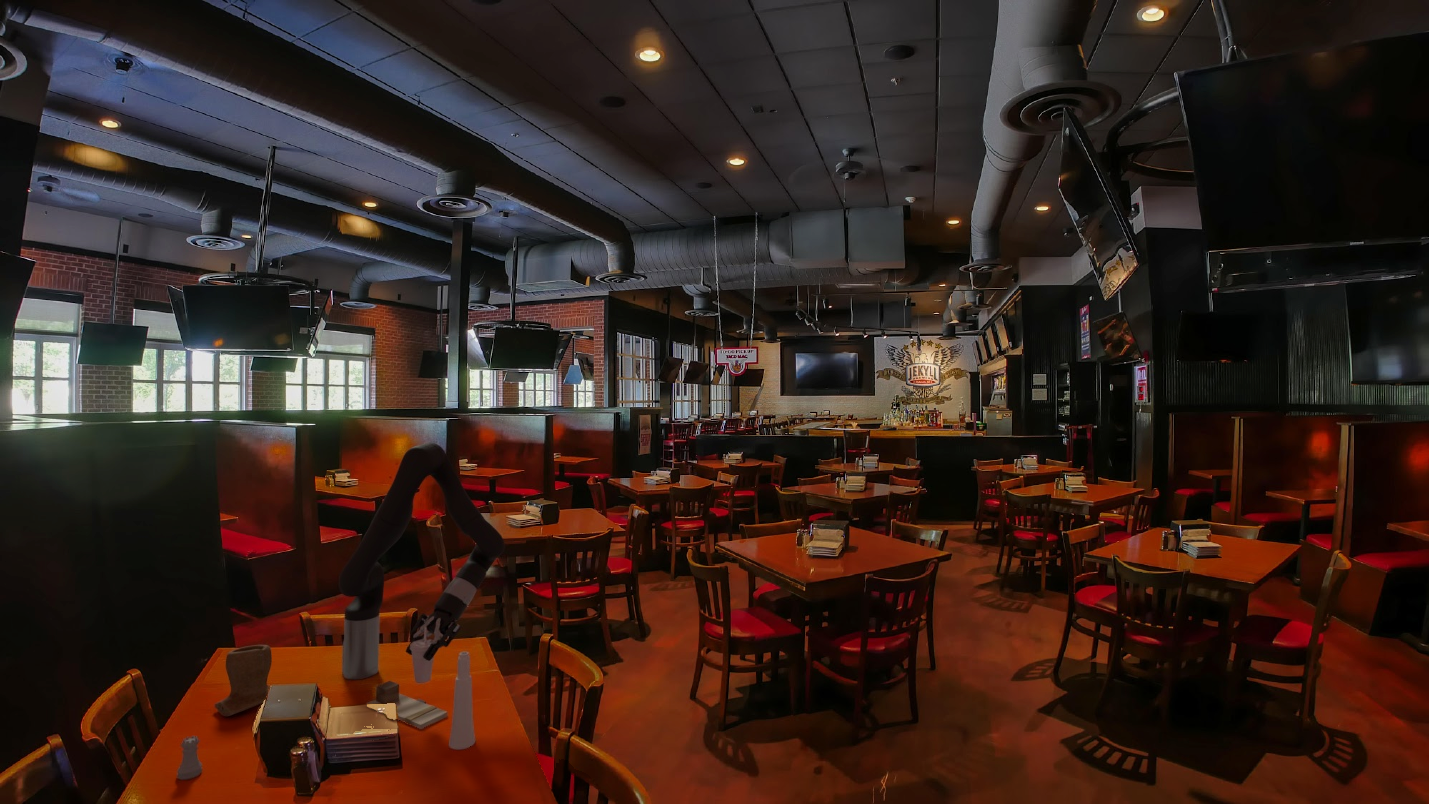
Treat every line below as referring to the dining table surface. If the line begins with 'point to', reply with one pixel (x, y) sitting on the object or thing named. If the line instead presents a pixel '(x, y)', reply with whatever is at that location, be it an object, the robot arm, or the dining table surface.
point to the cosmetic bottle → (462, 707)
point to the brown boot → (246, 678)
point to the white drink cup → (421, 659)
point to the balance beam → (408, 706)
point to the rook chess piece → (189, 759)
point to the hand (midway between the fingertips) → (417, 656)
